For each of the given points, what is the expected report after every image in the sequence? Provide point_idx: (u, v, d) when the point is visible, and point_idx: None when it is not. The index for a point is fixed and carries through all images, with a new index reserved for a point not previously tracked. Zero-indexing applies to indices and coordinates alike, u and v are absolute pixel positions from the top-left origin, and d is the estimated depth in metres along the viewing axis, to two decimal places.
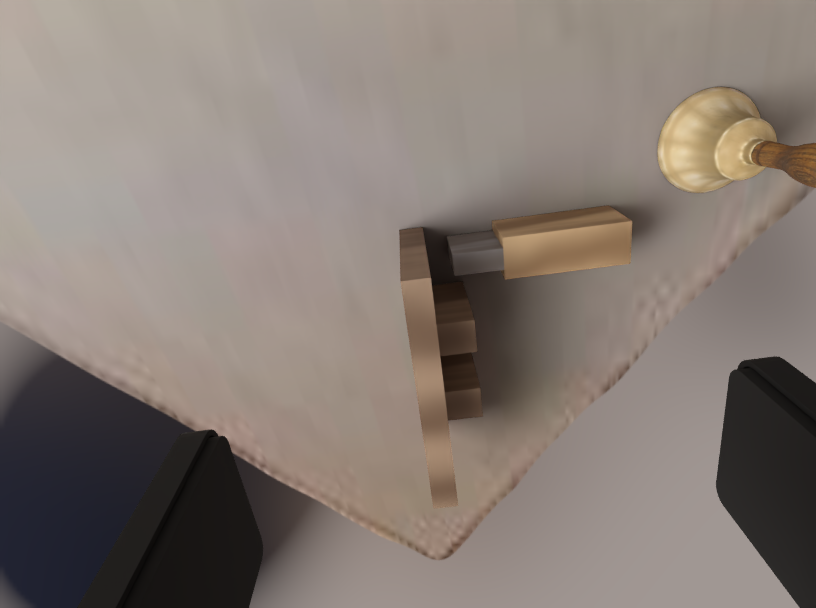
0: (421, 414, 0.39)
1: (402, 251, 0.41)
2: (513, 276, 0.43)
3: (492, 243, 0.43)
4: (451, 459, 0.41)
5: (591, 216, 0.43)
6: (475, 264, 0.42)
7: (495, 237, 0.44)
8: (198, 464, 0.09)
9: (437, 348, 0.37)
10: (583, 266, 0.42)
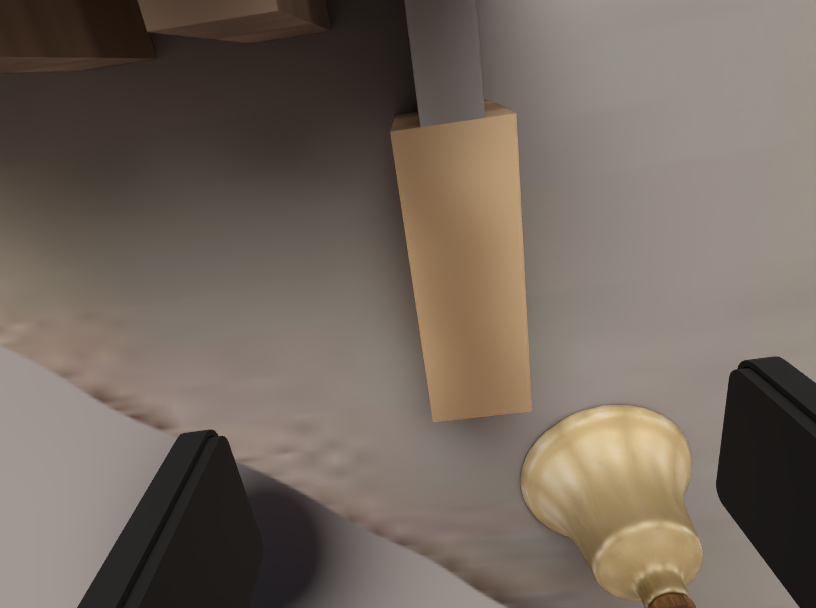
0: None
1: None
2: (399, 156, 0.15)
3: None
4: None
5: None
6: (437, 32, 0.14)
7: None
8: (198, 464, 0.09)
9: None
10: (427, 329, 0.17)
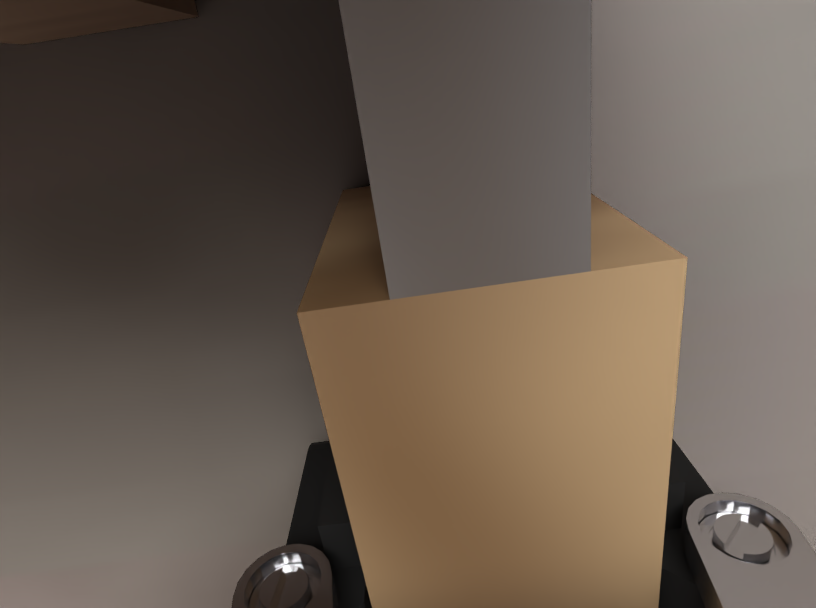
0: None
1: None
2: (330, 374, 0.05)
3: None
4: None
5: None
6: None
7: None
8: None
9: None
10: None
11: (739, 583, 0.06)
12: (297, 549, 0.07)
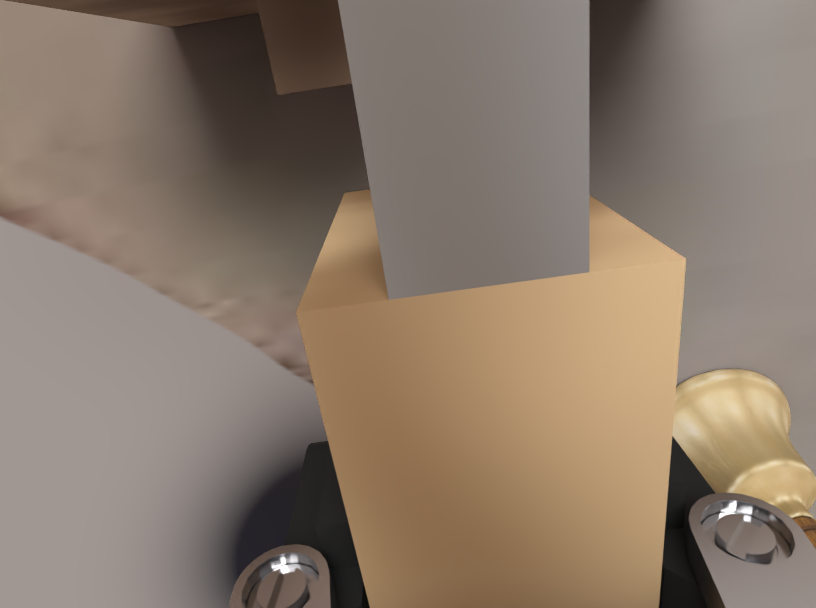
0: None
1: None
2: (329, 374, 0.05)
3: None
4: None
5: None
6: None
7: None
8: None
9: None
10: None
11: (741, 582, 0.06)
12: (295, 550, 0.07)
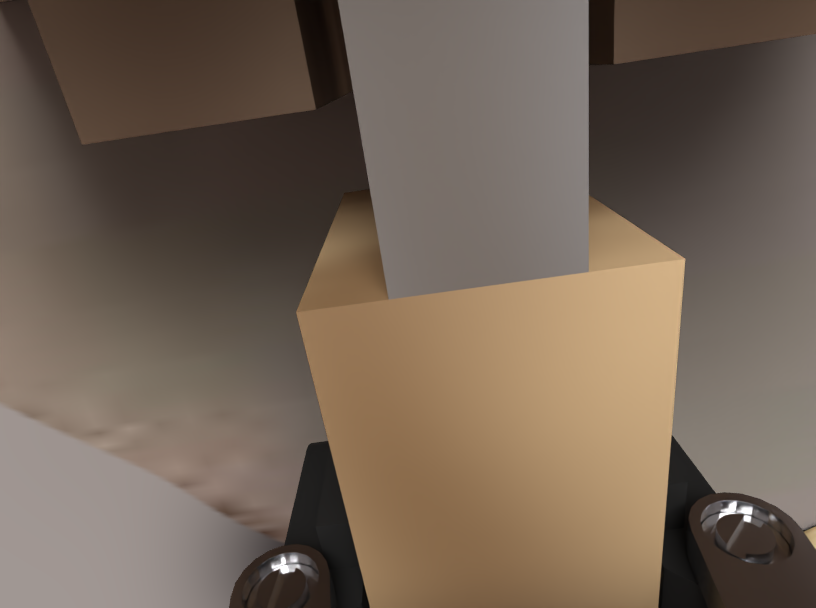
0: None
1: None
2: (329, 373, 0.05)
3: None
4: None
5: None
6: (442, 1, 0.04)
7: None
8: None
9: None
10: None
11: (741, 583, 0.06)
12: (295, 549, 0.07)
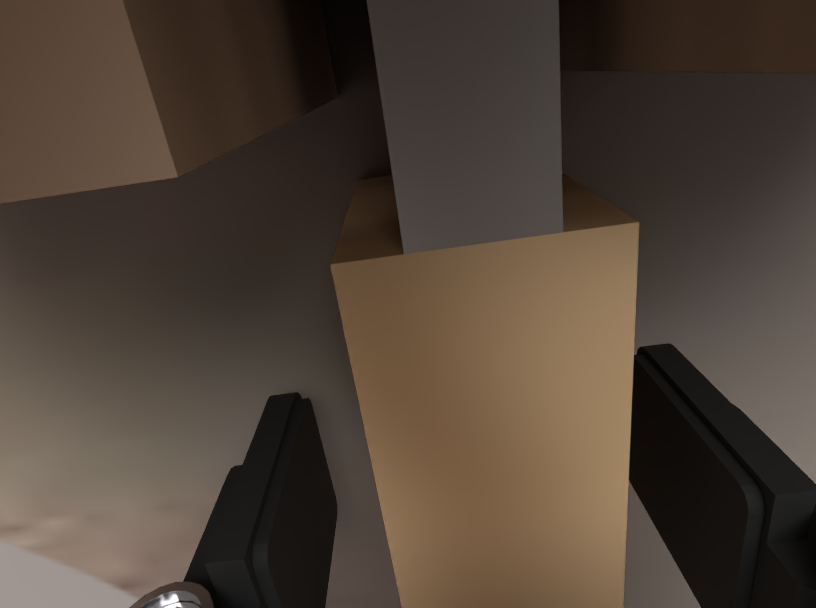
0: None
1: None
2: (355, 316, 0.06)
3: None
4: None
5: None
6: (447, 19, 0.05)
7: None
8: (293, 421, 0.09)
9: None
10: None
11: None
12: (183, 588, 0.07)
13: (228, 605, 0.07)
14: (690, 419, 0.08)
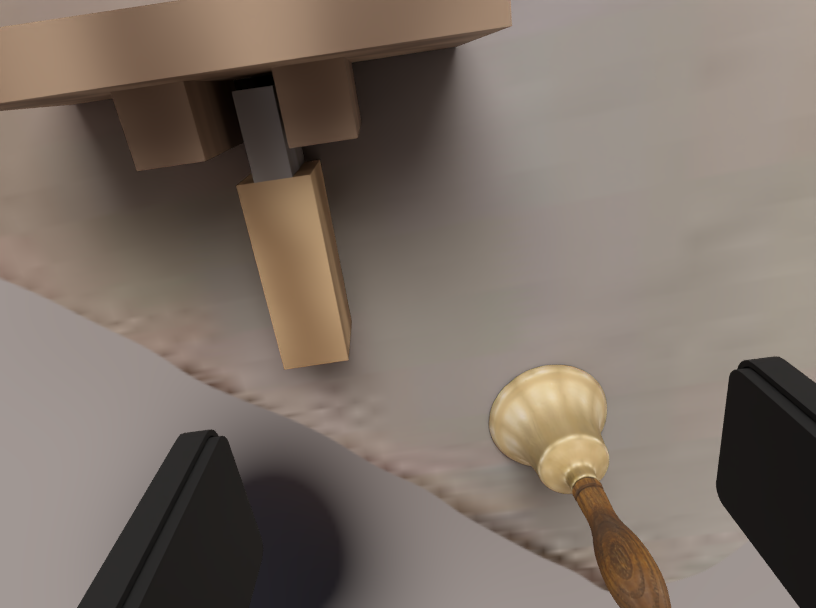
0: (153, 8, 0.16)
1: None
2: (243, 199, 0.25)
3: (293, 159, 0.26)
4: (28, 95, 0.17)
5: (343, 303, 0.30)
6: (258, 130, 0.24)
7: (299, 165, 0.27)
8: (198, 464, 0.09)
9: (342, 46, 0.17)
10: (273, 306, 0.27)
11: None
12: None
13: None
14: None
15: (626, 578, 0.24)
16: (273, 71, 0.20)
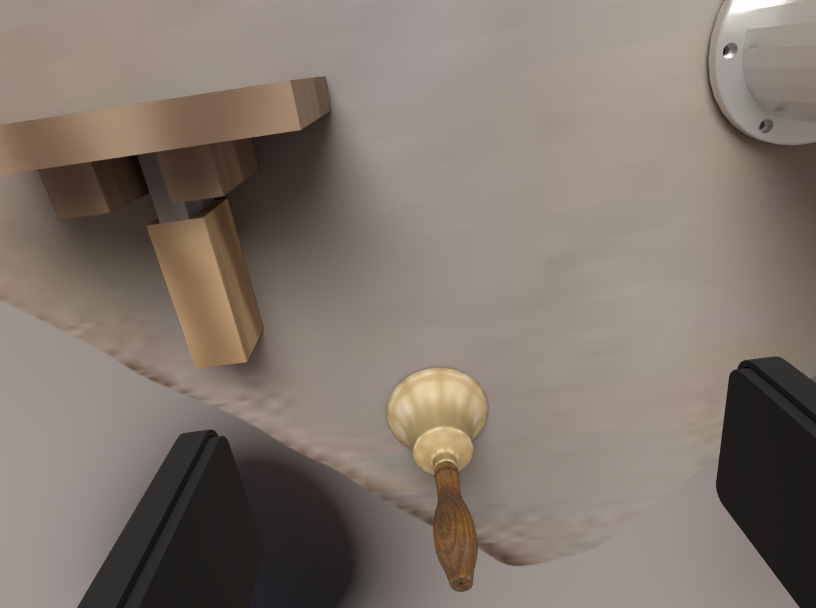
0: (44, 121, 0.23)
1: (311, 82, 0.28)
2: (152, 236, 0.32)
3: (195, 203, 0.33)
4: None
5: (247, 315, 0.37)
6: (159, 184, 0.31)
7: (204, 206, 0.34)
8: (198, 464, 0.09)
9: (180, 145, 0.23)
10: (182, 318, 0.34)
11: None
12: None
13: None
14: None
15: (444, 539, 0.31)
16: None
